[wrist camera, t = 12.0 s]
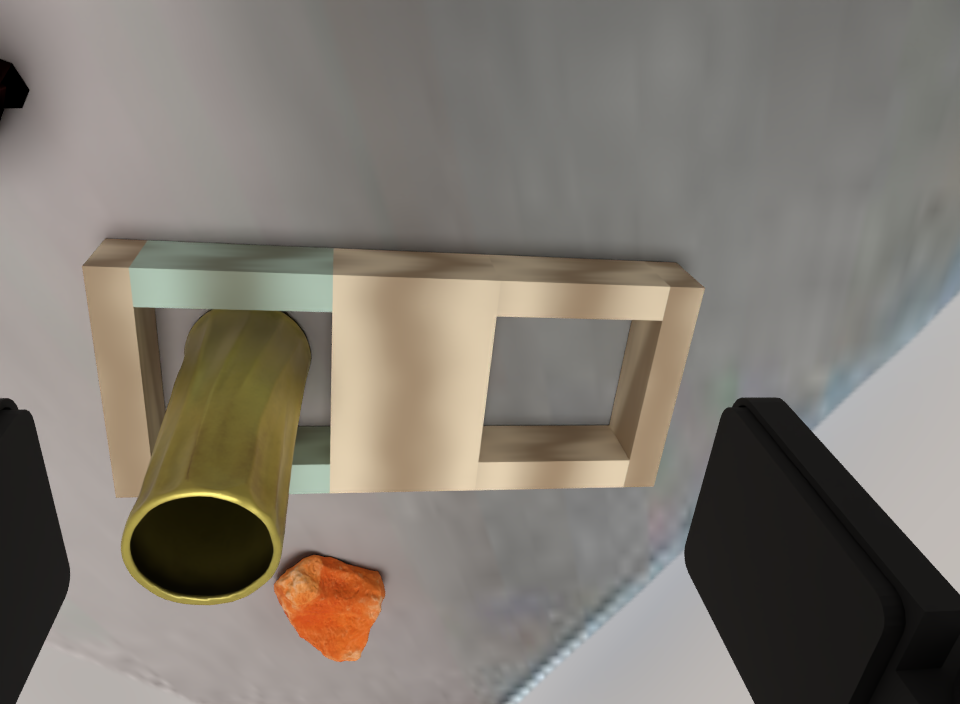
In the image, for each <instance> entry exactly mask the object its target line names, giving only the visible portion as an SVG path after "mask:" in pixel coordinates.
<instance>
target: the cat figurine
mask: <svg viewBox="0 0 960 704" xmlns="http://www.w3.org/2000/svg"><path fill="white" fill-rule="evenodd" d="M28 92H29V88H28V87H27V85H26V84H25V82H24V81H23V79H22V78H21V76H20V75H19V73H18V72H17V70H16V69H15V67H14V66H13V64H12V63H10V62H7V61H4V60H2V59H0V120H1V117H2V115H3V112H4V108H22V107H23V105H24V102H25V100H26V97H27V95H28Z"/></svg>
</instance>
